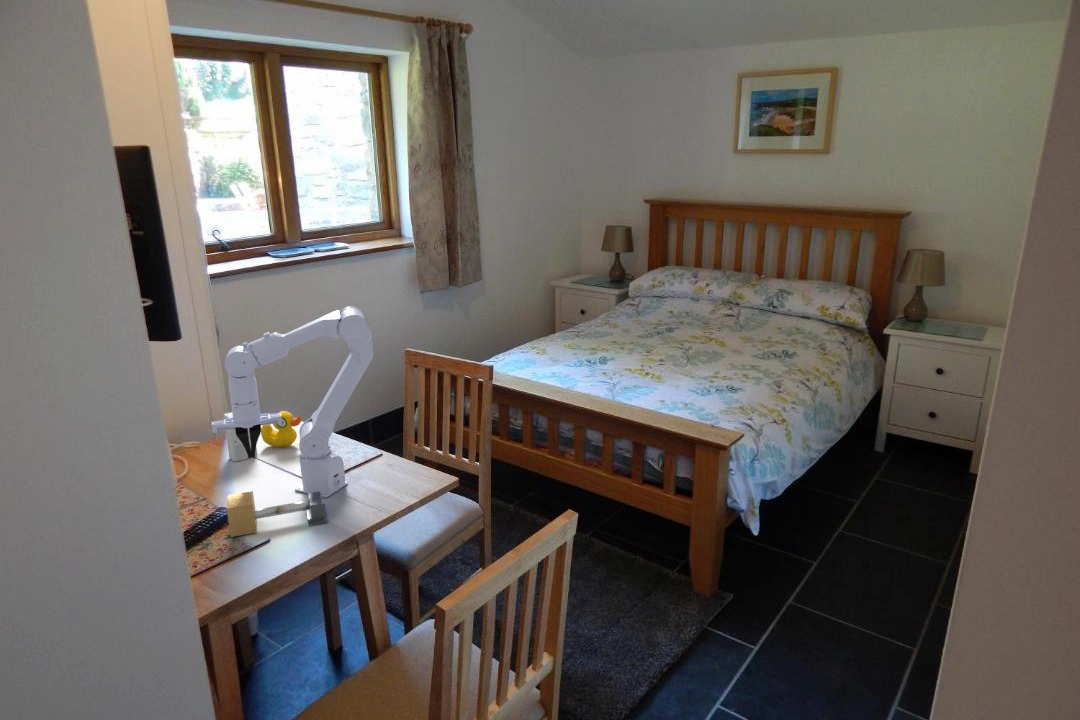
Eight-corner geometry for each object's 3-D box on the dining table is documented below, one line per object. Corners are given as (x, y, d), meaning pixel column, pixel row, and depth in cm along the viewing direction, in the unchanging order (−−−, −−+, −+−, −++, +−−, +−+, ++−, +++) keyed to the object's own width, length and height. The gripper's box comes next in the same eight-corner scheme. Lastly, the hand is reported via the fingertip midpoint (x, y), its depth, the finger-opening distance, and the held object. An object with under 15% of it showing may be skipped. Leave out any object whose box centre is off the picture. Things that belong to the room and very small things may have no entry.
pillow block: (325, 505, 160) (323, 488, 158) (328, 522, 152) (326, 504, 151) (306, 509, 158) (304, 491, 157) (308, 526, 151) (306, 508, 150)
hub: (256, 518, 154) (252, 491, 152) (256, 532, 148) (252, 503, 146) (231, 523, 152) (227, 495, 150) (231, 537, 147) (226, 508, 145)
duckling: (308, 442, 194) (304, 408, 191) (300, 451, 188) (296, 415, 185) (268, 441, 194) (263, 407, 192) (259, 450, 189) (254, 415, 186)
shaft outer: (278, 512, 153) (276, 504, 152) (278, 516, 151) (277, 508, 151) (232, 520, 150) (231, 511, 149) (232, 525, 148) (231, 516, 148)
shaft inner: (321, 504, 156) (321, 496, 156) (322, 508, 154) (321, 500, 154) (277, 512, 153) (276, 504, 152) (277, 516, 151) (276, 508, 151)
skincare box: (235, 462, 182) (228, 418, 178) (228, 457, 185) (221, 414, 181) (258, 455, 186) (252, 412, 182) (251, 450, 189) (245, 407, 186)
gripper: (208, 410, 152) (216, 468, 155) (280, 401, 157) (286, 458, 161) (209, 400, 158) (217, 456, 162) (278, 392, 163) (284, 446, 167)
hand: (251, 456), depth 162 cm, fingers closed
